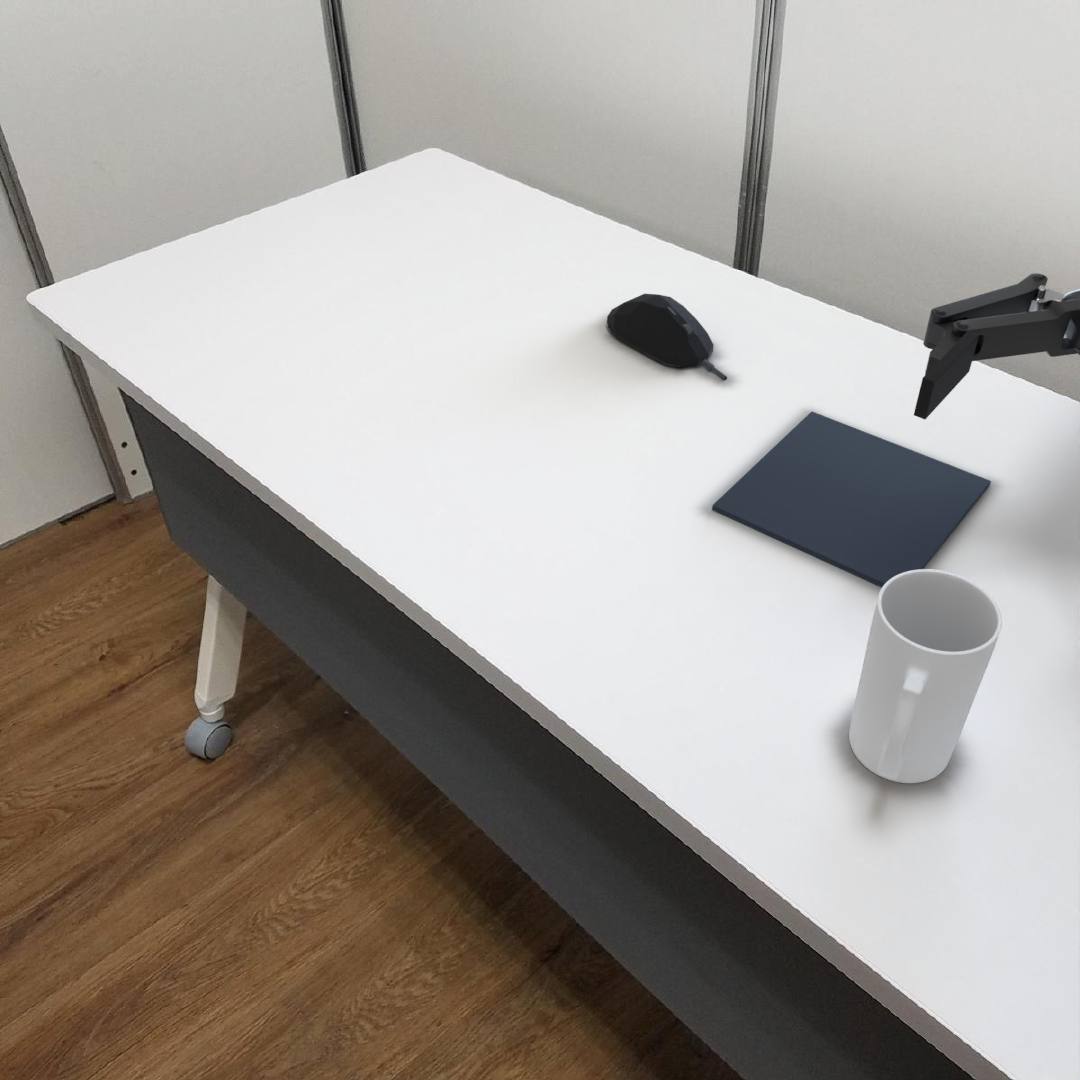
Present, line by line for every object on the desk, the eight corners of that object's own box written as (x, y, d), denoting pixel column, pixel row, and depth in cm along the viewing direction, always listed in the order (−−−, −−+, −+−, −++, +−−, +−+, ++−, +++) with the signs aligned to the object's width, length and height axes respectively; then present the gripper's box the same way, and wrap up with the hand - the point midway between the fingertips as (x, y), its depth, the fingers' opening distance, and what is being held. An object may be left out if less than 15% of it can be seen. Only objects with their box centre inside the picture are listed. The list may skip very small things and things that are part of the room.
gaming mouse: (700, 392, 101) (703, 354, 99) (593, 326, 110) (594, 289, 107) (750, 368, 104) (754, 330, 101) (642, 305, 113) (643, 268, 110)
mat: (989, 485, 91) (991, 480, 90) (901, 596, 81) (902, 591, 81) (810, 415, 98) (811, 410, 98) (711, 510, 89) (712, 505, 89)
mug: (861, 689, 75) (895, 555, 67) (964, 725, 73) (1012, 590, 65) (814, 802, 68) (846, 669, 60) (927, 846, 66) (975, 713, 58)
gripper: (1335, 399, 73) (1246, 580, 61) (964, 283, 85) (828, 416, 73) (1390, 295, 68) (1306, 471, 56) (988, 188, 80) (847, 314, 68)
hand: (1036, 440), depth 64 cm, fingers open, 13 cm apart
